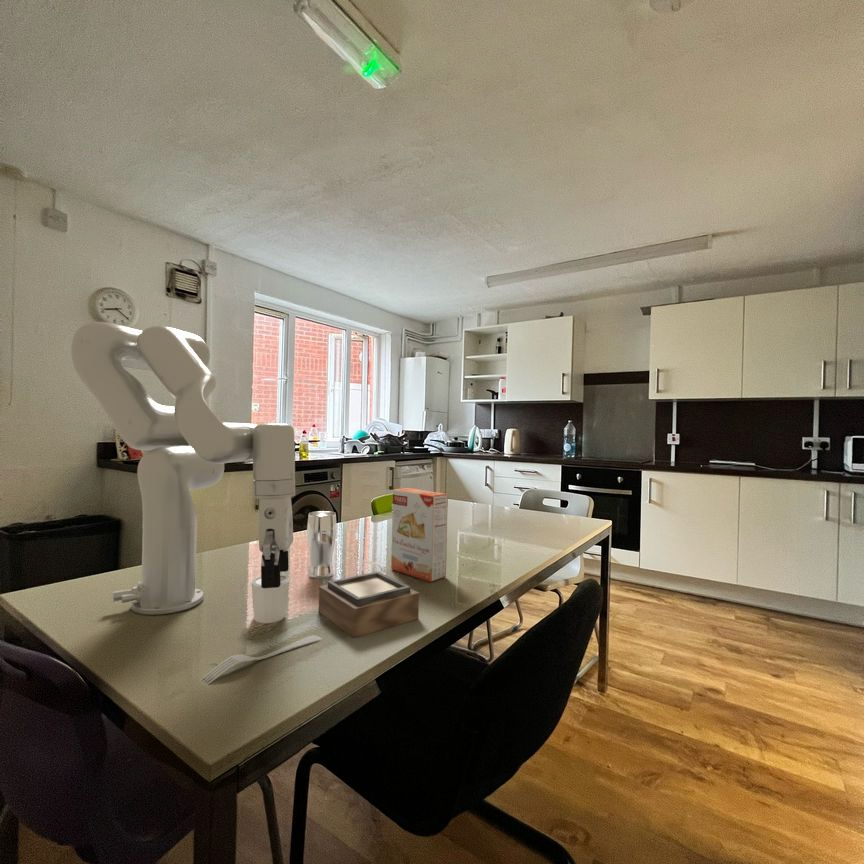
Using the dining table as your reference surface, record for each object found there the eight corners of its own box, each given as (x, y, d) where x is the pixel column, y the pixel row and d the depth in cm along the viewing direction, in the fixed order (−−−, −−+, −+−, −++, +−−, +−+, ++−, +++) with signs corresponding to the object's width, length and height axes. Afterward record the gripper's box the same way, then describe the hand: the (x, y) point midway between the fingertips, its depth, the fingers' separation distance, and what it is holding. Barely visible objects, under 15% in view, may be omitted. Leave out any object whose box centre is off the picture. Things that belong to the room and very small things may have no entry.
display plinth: (354, 637, 81) (354, 603, 81) (318, 611, 92) (319, 581, 92) (418, 618, 90) (419, 587, 90) (379, 596, 100) (379, 569, 100)
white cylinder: (244, 616, 89) (245, 579, 89) (278, 607, 93) (279, 572, 93) (260, 627, 84) (261, 589, 84) (295, 617, 89) (296, 580, 89)
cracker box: (389, 570, 119) (391, 488, 119) (406, 565, 124) (408, 486, 124) (430, 583, 110) (432, 495, 110) (446, 577, 115) (449, 492, 114)
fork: (325, 654, 80) (327, 638, 80) (203, 691, 64) (205, 670, 65) (315, 649, 82) (317, 633, 82) (194, 683, 66) (196, 663, 66)
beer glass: (299, 575, 113) (301, 514, 113) (319, 568, 119) (320, 510, 119) (322, 580, 110) (323, 517, 110) (341, 573, 116) (342, 512, 116)
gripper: (288, 493, 80) (289, 593, 80) (300, 483, 97) (301, 565, 97) (242, 495, 79) (243, 596, 79) (263, 484, 96) (264, 567, 96)
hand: (275, 578), depth 88 cm, fingers open, 9 cm apart
